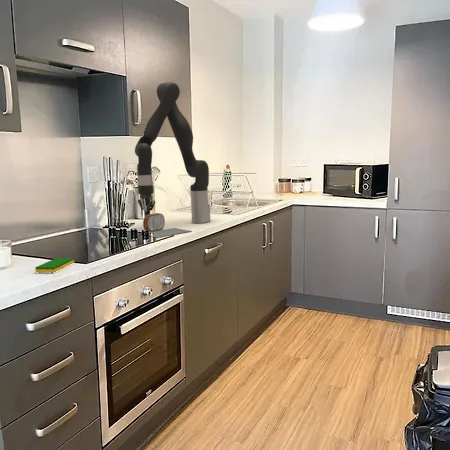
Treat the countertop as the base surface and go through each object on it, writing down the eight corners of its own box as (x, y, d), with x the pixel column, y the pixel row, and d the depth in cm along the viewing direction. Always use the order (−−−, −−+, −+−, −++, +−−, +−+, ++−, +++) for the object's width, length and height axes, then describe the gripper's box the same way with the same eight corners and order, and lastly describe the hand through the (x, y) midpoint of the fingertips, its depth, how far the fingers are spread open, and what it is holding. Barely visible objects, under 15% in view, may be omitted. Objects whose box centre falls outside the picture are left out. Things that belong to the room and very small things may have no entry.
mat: (174, 228, 235) (174, 227, 235) (191, 231, 225) (191, 230, 225) (140, 234, 222) (140, 233, 222) (156, 238, 212) (156, 237, 212)
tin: (161, 228, 238) (159, 212, 237) (166, 228, 236) (165, 211, 235) (143, 233, 225) (141, 215, 224) (148, 232, 223) (146, 215, 222)
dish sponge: (35, 274, 158) (34, 267, 157) (56, 264, 171) (56, 257, 171) (54, 274, 156) (54, 267, 156) (74, 264, 170) (74, 257, 169)
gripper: (159, 184, 229) (161, 219, 232) (144, 183, 239) (146, 216, 242) (146, 185, 224) (148, 221, 227) (131, 184, 234) (134, 218, 237)
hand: (147, 218), depth 234 cm, fingers closed
